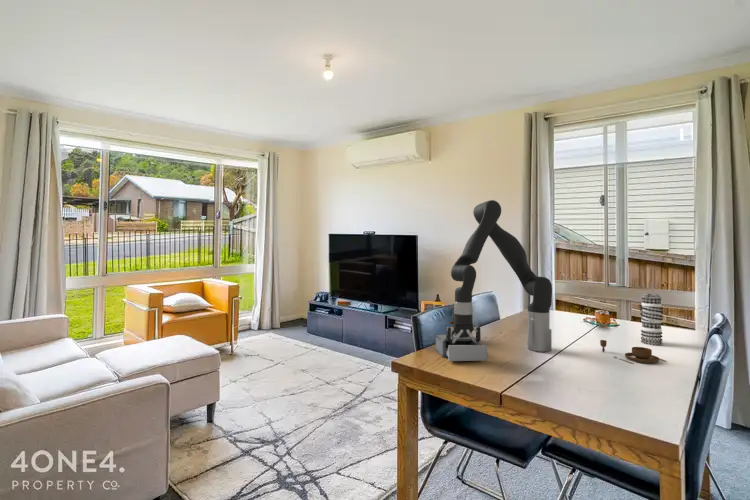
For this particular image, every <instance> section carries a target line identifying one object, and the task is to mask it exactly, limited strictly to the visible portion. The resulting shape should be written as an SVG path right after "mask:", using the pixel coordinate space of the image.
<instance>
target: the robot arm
mask: <svg viewBox="0 0 750 500" xmlns="http://www.w3.org/2000/svg"><path fill="white" fill-rule="evenodd" d="M472 213H473V217H474V219H475V221H476V222H477V223H478V226H477V227H476V229H475V230H474V231H473V233H472V234H471V235H470V237H469V238H468V240H467V242H466V244H465V246H464V249H463V250H462V253H461V255H460V256H459V257H458V259H456V261H455V262H454V263H453V266H452V267H451V271H450V276H451V278H452V280H454V281H455V282H462V284H461V286H458V287H456V288H455V290H454V305H453V306H454V309H453V313H454V320H453V321H454V324H453V327H451V326H446V330H445V331H446V332H445V334H446V340H447V341H448V342H451V345H455V341H456V340H457V339H458V338H459V337H469V338H470V339H471V341H472V342H471V345H476V342H478V341H480V342H481V340H482V339H481V338H482V337H481V327H480V326H478V325H476V326H473V325H474V324H473V323H474V322H473V321H474V317H473V316H474V315H473V313H474V309H473V289H474V287H475V283H476V279H477V270H476V268H475V267H474V266H473V264H476V263H477V262H478V261H479V258H480V255H481V253H482V251H483V248H484V246H485V243H486V241H487V239H488V237H490V239H491V241H492V242H493V244H495V246H496V247H497V249H498V250H499V252H500V253H501V255H502V257H503V258H504V259H505V261H506V262H507V263H508V265H509V266H510V267H511V269H512V270H513V272H514V274H515V275H516V277H517V278H518V280H519V281H520V283H521V285H522V288H523V289H524V291H525V292H526V293H527V295H528V294H529V295H530V296H533V298H532V302H531V303H529V304H528V305H527V349H528V350H530V351H533V352H534V351H535V352H550V351H552V348H553V347H552V340H553V339H552V337H553V336H552V329H551V328H550V326H551V325H550V323H551V322H550V311H551V306H552V299H553V285H552V281H551V280H550V279H549V278H547V277H545V276H538V275H536V274H535V273H534V272H533V270H532V269H531V267H530V265H529V264H528V257H527V253H526V250H525V248H524V247H523V245H522V243H520V241H519V240H518V238H517V237H515V236H514V235H513V234H511V233H510V232H508V231H506V229H504V228H502V227H501V226H500V224H498V223H497V222H498V221H499V219H500V216H501V214H502V207H501V204H500V203H499V202H498V201H497V200H494V199H492V200H491V199H490V200H487V201H484V202H482V203H479V204H477V205H476V206H475V207H474V208H473V211H472ZM452 330H454V331H455V334H454V335H453V337H452V339H451V332H452ZM473 331H474V332H475V336H474V335H473V334H472V333H473ZM473 336H474V337H475V338H474V337H473Z"/></svg>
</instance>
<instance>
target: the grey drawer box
mask: <svg viewBox="0 0 750 500" xmlns="http://www.w3.org/2000/svg"><path fill="white" fill-rule="evenodd" d="M454 334H455V331H454V330H452V332H451V339H452V337H453V335H454ZM473 337H474V338H476V336H474V335H473ZM471 342H472V341H471V339H470V338H469V337H459V338H458V339H457V340H456V341H455V345H471ZM480 342H481V341H478V342H476V345H481V344H480ZM448 345H451V342H448V341H447V340H446V333H444V334H443V333H441V334H440V333H439V334H435V351H436V352H437V353H438V354H439V355H440V356H441V357H442V358H448V356H447V355H446V354H445V348H448Z"/></svg>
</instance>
